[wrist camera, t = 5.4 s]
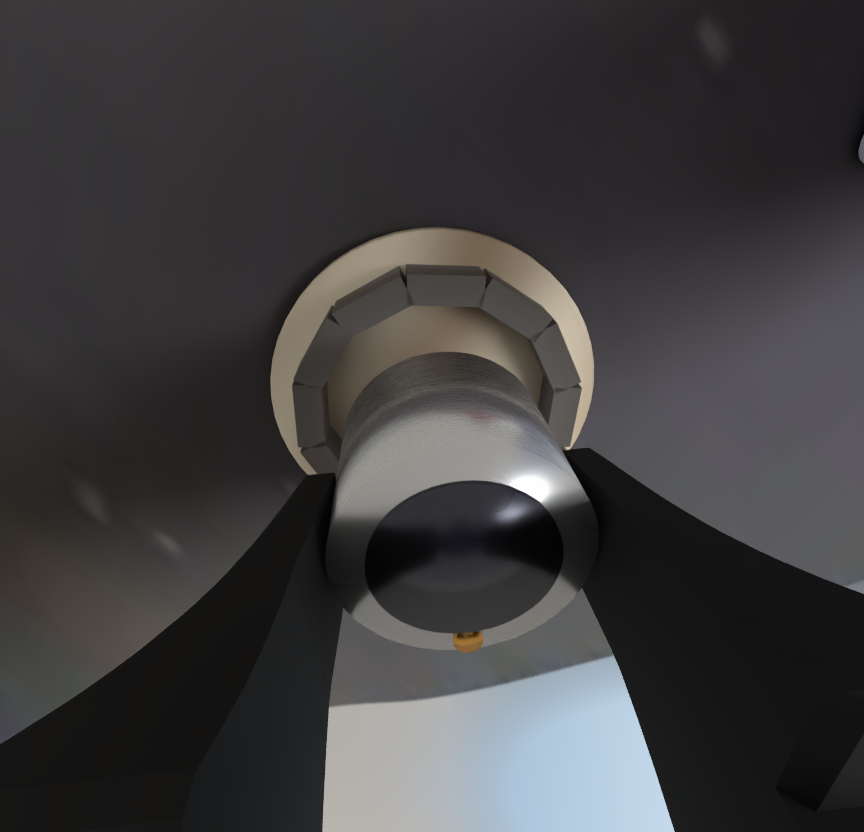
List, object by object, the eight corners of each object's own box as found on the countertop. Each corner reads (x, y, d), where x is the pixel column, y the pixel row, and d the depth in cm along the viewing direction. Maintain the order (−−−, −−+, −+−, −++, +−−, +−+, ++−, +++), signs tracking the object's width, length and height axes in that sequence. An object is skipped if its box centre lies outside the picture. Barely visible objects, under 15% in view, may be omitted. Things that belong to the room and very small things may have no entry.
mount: (618, 233, 14) (646, 244, 13) (559, 511, 19) (575, 545, 17) (255, 220, 13) (237, 230, 12) (289, 514, 18) (280, 550, 17)
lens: (545, 342, 12) (617, 434, 8) (537, 511, 14) (589, 642, 10) (327, 361, 11) (299, 465, 8) (357, 530, 14) (347, 669, 10)
